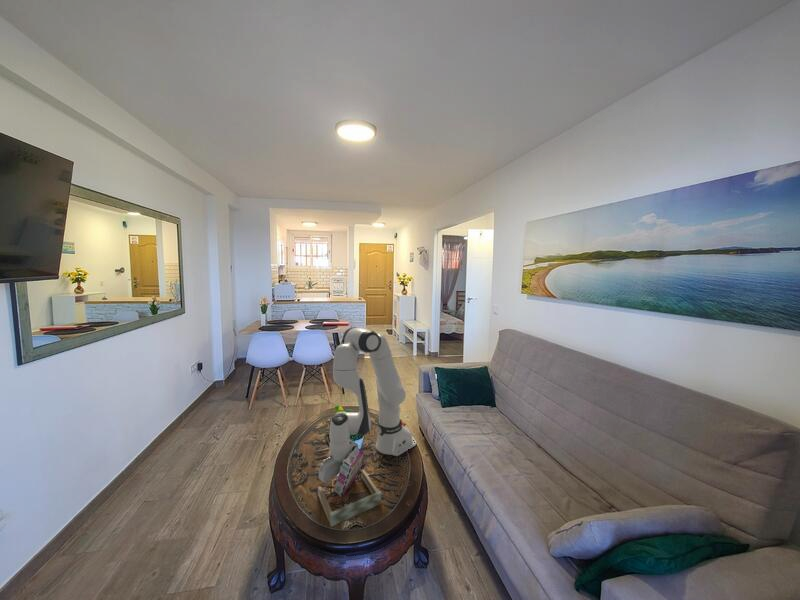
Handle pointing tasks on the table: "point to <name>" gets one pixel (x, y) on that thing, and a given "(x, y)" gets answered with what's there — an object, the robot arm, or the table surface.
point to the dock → (354, 507)
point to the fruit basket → (339, 409)
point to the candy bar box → (348, 471)
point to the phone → (327, 439)
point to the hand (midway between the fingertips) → (339, 478)
